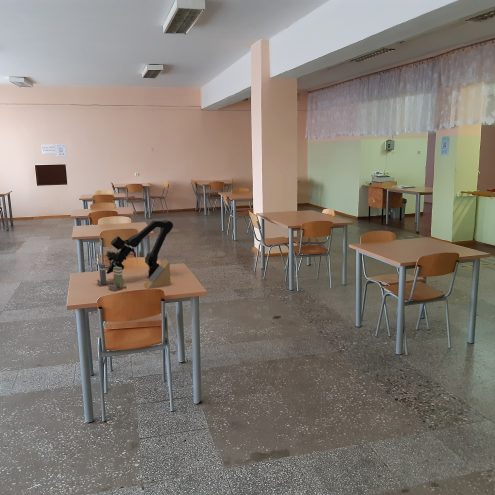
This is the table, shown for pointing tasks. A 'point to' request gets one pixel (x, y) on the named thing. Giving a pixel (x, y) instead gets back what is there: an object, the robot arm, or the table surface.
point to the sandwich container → (159, 276)
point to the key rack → (110, 285)
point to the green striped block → (118, 276)
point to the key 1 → (102, 273)
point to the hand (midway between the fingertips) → (107, 273)
